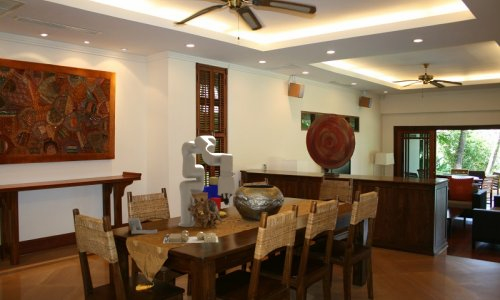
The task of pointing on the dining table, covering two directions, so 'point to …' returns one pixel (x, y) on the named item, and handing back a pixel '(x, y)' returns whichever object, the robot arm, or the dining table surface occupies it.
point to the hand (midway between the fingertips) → (226, 204)
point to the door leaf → (206, 237)
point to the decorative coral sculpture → (206, 212)
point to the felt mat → (190, 240)
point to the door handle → (138, 227)
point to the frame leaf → (179, 237)
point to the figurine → (213, 193)
